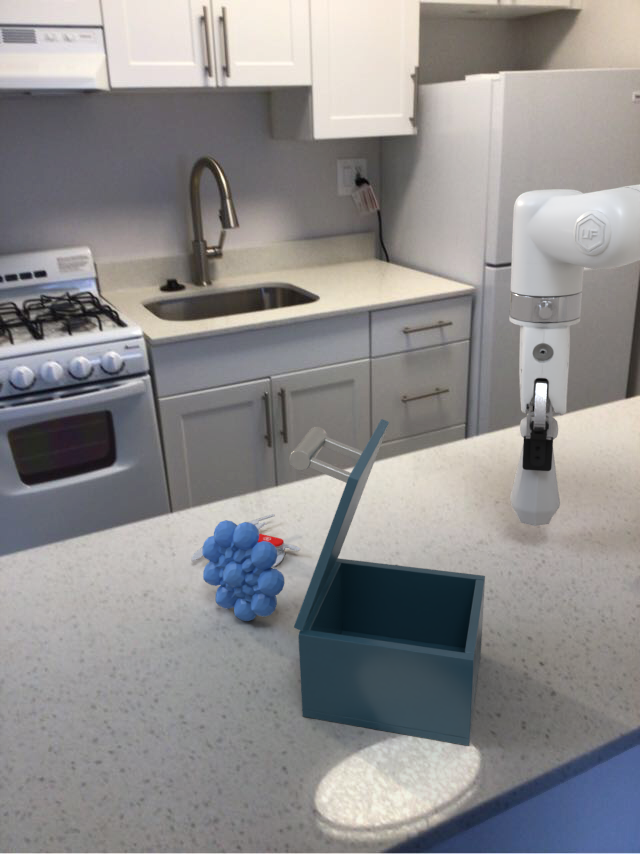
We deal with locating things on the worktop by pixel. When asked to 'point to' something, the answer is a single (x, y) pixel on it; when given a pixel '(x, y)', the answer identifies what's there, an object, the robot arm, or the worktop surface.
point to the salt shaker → (535, 488)
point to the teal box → (394, 650)
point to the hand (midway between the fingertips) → (537, 459)
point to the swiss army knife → (273, 540)
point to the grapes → (242, 570)
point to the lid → (347, 505)
